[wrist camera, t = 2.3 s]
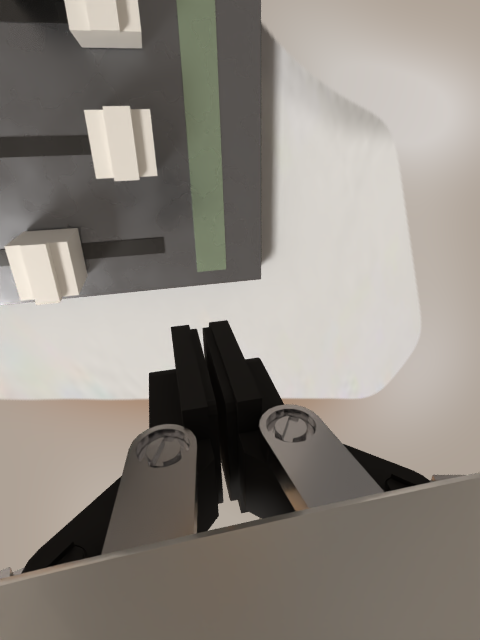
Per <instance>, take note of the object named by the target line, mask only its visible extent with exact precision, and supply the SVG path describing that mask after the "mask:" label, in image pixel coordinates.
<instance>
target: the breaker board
mask: <svg viewBox="0 0 480 640" xmlns="http://www.w3.org/2000/svg"><path fill="white" fill-rule="evenodd" d="M138 7H139V16H140V25H141V36H142V48H83V47H81V46H80V44H79V43H78V41H77V40H76V38H75V37H74V36H73V34H72V33H71V31H70V30H69V24H68V19H67V13H66V7H65V2H64V0H0V305H6V304H16V303H26V302H35V299H34V300H24V301H21V300H20V297H19V294H18V290H17V287H16V284H15V280H14V277H13V274H12V270H11V267H10V264H9V260H8V257H7V254H6V250H5V247H4V246H5V245H7V244H8V243H9V242H11V241H12V240H13V239H15V238H16V237H17V236H19V235H20V234H21V233H23V232H24V231H39V230H54V229H69V228H78V232H79V236H80V241H81V246H82V251H83V256H84V260H85V265H86V270H87V275H88V276H87V278H86V280H85V282H84V285H83V287H82V289H81V292H80V294H79V295H75V296H65V297H62V299H66V298H77V297H87V296H97V295H107V294H117V293H127V292H137V291H147V290H157V289H167V288H177V287H187V286H197V285H207V284H217V283H227V282H237V281H247V280H257V279H261V0H138ZM102 106H130V109H150V114H151V123H152V132H153V141H154V150H155V159H156V167H157V176H147V177H140V180H130V181H114V178H103V179H96V175H95V170H94V164H93V158H92V153H91V147H90V142H89V136H88V130H87V125H86V119H85V114H84V110H103V107H102Z"/></svg>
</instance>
